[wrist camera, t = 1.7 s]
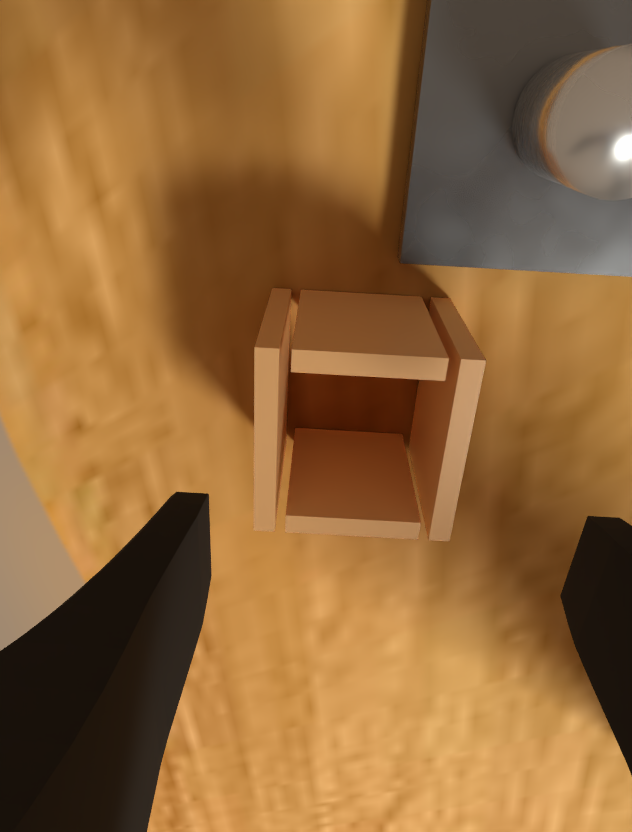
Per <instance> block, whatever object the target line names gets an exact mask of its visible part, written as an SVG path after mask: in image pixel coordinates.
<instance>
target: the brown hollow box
mask: <svg viewBox="0 0 632 832" xmlns="http://www.w3.org/2000/svg"><path fill="white" fill-rule="evenodd" d="M290 316H291V289H282V288H272V291H271V294H270V297H269V301H268V304H267V307H266V311H265V314H264V317H263V320H262V324H261V327H260V330H259V334H258V337H257V340H256V344H255V347H254V531H272V532H275V525H276V518H277V510H278V502H279V494H280V487H281V479H282V471H283V463H284V456H285V448H286V436H287V406H288V376H289V346H290ZM485 364H486V359H485V358H484V356H483V354H482V353H481V351H480V349H479V347H478V346H477V344H476V342H475V340H474V339H473V337H472V335H471V334H470V332H469V330H468V328H467V327H466V325H465V323H464V321H463V320H462V318H461V316H460V315H459V313H458V311H457V309H456V308H455V306H454V304H453V302H452V301H451V299H450V298H438V297H431V301H430V307H429V312H428V310H427V308H426V306H425V303H424V301H423V299H422V297H421V296H403V295H386V294H369V293H351V292H334V291H317V290H301V292H300V299H299V305H298V312H297V318H296V325H295V331H294V338H293V344H292V355H291V372H297V373H314V374H332V375H349V376H367V377H384V378H402V379H419V382H418V389H417V395H416V402H415V409H414V416H413V423H412V429H411V436H410V443H409V453H410V457H411V462H412V467H413V471H414V476H415V480H416V485H417V490H418V494H419V499H420V503H421V508H422V513H423V517H424V522H425V526H426V531H427V535H428V540H434V541H450V536H451V531H452V526H453V522H454V517H455V512H456V507H457V502H458V497H459V492H460V487H461V482H462V477H463V472H464V467H465V462H466V457H467V453H468V448H469V443H470V438H471V433H472V428H473V423H474V418H475V413H476V408H477V403H478V398H479V393H480V388H481V384H482V379H483V374H484V369H485ZM420 525H421V521H420V516H419V511H418V507H417V502H416V497H415V492H414V487H413V483H412V478H411V473H410V468H409V464H408V459H407V454H406V449H405V444H404V440H403V435H402V434H396V433H378V432H360V431H343V430H325V429H307V428H295V435H294V444H293V453H292V463H291V472H290V481H289V490H288V500H287V509H286V524H285V532H290V533H308V534H326V535H344V536H362V537H380V538H398V539H416V540H418V537H419V531H420Z"/></svg>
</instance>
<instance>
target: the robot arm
mask: <svg viewBox="0 0 632 832" xmlns="http://www.w3.org/2000/svg"><path fill="white" fill-rule="evenodd" d="M210 581H211V549H210V520H209V494H204V493H187V492H176V493H175V494H173V495H172V496H171V497H170V498H169V499H168V500H167V501H166V503H165V504H164V505H163V506H162V507H161V508H160V509H159V510H158V512H157V513H156V514H155V515H154V516H153V517H152V518H151V519H150V520H149V521H148V523H147V524H146V525H145V526H144V527H143V528H142V529H141V530H140V531H139V532H138V533H137V534H136V535H135V536H134V537H133V538H132V539H131V540H130V541H129V542H128V543H127V545H126V546H125V547H124V548H123V549H122V550H121V551H120V552H119V553H118V554H117V555H116V556H115V557H114V558H113V559H112V560H111V561H110V562H109V563H108V564H106V565H105V566H104V567H103V568H102V569H101V570H100V571H99V572H98V573H97V574H96V575H95V576H93V577H92V578H91V579H90V580H89V581H88V582H87V583H86V584H85V585H84V586H82V587H81V588H80V589H79V590H78V591H77V592H76V593H75V594H74V595H73V596H71V597H70V598H69V599H68V600H67V601H65V602H64V603H63V604H62V605H61V606H59V607H58V608H57V609H56V610H55V611H53V612H52V613H51V614H50V615H48V616H47V617H46V618H45V619H43V620H42V621H41V622H39V623H38V624H37V625H36V626H34V627H33V628H32V629H30V630H29V631H28V632H27V633H25V634H24V635H23V636H21V637H20V638H18V639H17V640H16V641H14V642H13V643H11V644H10V645H8V646H7V647H6V648H4V649H3V650H1V651H0V832H147V828H148V823H149V818H150V813H151V809H152V804H153V799H154V794H155V790H156V785H157V780H158V775H159V771H160V766H161V762H162V758H163V754H164V750H165V747H166V743H167V739H168V736H169V732H170V729H171V726H172V723H173V719H174V716H175V713H176V710H177V706H178V703H179V700H180V697H181V694H182V690H183V687H184V684H185V681H186V677H187V674H188V671H189V668H190V664H191V661H192V658H193V654H194V651H195V648H196V645H197V641H198V638H199V635H200V631H201V628H202V624H203V619H204V614H205V609H206V603H207V598H208V592H209V586H210ZM561 600H562V603H563V607H564V611H565V614H566V618H567V622H568V625H569V628H570V631H571V635H572V638H573V641H574V644H575V647H576V650H577V652H578V654H579V657H580V659H581V661H582V664H583V666H584V668H585V670H586V673H587V675H588V677H589V680H590V682H591V684H592V686H593V689H594V691H595V693H596V695H597V698H598V700H599V702H600V704H601V706H602V709H603V711H604V713H605V715H606V718H607V720H608V722H609V724H610V727H611V729H612V731H613V733H614V735H615V738H616V740H617V742H618V744H619V747H620V749H621V751H622V753H623V756H624V758H625V760H626V762H627V765H628V767H629V770H630V772H631V775H632V526H631V525H630V524H628V523H627V522H625V521H624V520H622V519H620V518H611V517H594V516H588V517H587V520H586V523H585V525H584V528H583V531H582V534H581V537H580V540H579V543H578V546H577V549H576V552H575V555H574V558H573V561H572V564H571V566H570V569H569V572H568V575H567V578H566V581H565V584H564V587H563V590H562V593H561Z"/></svg>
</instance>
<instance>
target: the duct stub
mask: <svg viewBox="0 0 632 832" xmlns="http://www.w3.org/2000/svg"><path fill="white" fill-rule="evenodd" d="M397 257H398V259H399V262H400V263H406V264H423V265H440V266H457V267H475V268H492V269H509V270H526V271H543V272H561V273H578V274H595V275H612V276H629V277H632V0H427V7H426V15H425V24H424V33H423V41H422V50H421V58H420V67H419V76H418V84H417V93H416V101H415V110H414V119H413V127H412V136H411V144H410V153H409V162H408V170H407V179H406V187H405V196H404V205H403V213H402V222H401V230H400V239H399V248H398V256H397Z"/></svg>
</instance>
